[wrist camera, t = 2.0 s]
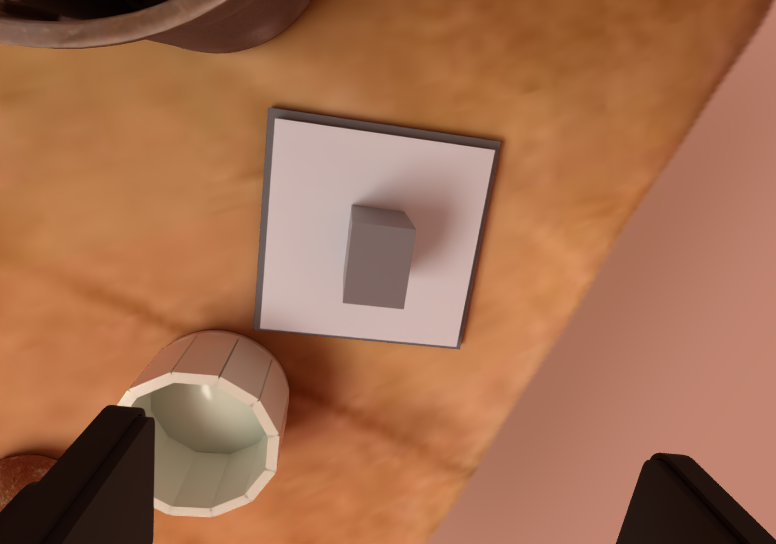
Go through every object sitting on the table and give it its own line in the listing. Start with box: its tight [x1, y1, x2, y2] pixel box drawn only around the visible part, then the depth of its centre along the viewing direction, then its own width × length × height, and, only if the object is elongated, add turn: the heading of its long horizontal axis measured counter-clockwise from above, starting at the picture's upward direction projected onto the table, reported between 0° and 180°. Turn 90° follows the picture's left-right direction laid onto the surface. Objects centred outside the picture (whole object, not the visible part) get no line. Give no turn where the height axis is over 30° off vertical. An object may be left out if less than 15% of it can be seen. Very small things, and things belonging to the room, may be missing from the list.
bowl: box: [117, 330, 289, 517], centre depth 29 cm, size 9×9×6 cm
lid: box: [260, 118, 495, 347], centre depth 26 cm, size 12×12×6 cm
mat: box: [253, 107, 501, 349], centre depth 29 cm, size 13×13×1 cm
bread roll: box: [0, 455, 58, 512], centre depth 31 cm, size 10×10×8 cm
